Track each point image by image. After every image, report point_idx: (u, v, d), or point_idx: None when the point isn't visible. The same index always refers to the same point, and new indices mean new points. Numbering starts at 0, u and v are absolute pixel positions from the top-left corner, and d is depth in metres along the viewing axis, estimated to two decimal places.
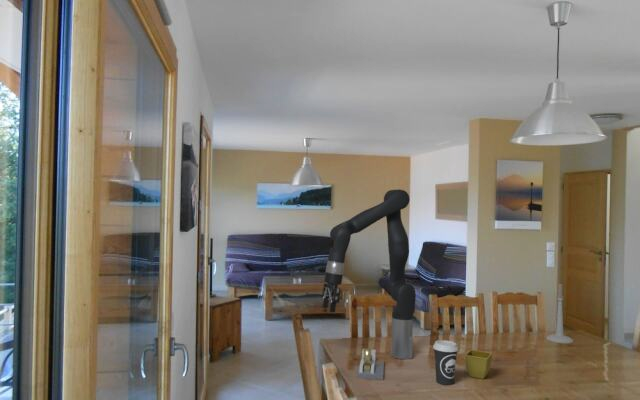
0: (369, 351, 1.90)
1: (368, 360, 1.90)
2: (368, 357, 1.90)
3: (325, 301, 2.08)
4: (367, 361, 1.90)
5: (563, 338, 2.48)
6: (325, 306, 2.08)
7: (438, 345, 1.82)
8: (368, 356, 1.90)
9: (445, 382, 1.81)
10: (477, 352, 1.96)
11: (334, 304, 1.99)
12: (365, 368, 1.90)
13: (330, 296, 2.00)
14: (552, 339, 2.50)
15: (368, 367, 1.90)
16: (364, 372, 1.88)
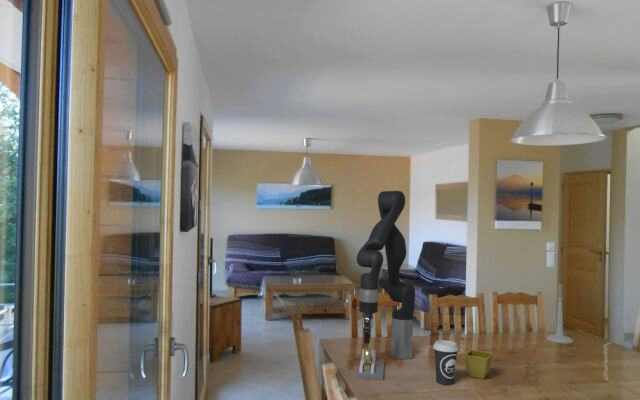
0: (369, 351, 1.90)
1: (368, 360, 1.90)
2: (368, 357, 1.90)
3: None
4: (367, 361, 1.90)
5: (563, 338, 2.48)
6: None
7: (438, 345, 1.82)
8: (368, 356, 1.90)
9: (445, 382, 1.81)
10: (477, 352, 1.96)
11: (367, 335, 1.86)
12: (365, 368, 1.90)
13: (363, 326, 1.88)
14: (552, 339, 2.50)
15: (368, 367, 1.90)
16: (364, 372, 1.88)
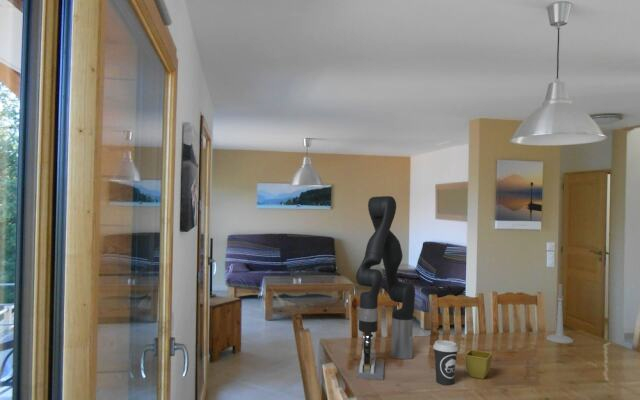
0: None
1: None
2: None
3: None
4: None
5: (563, 338, 2.48)
6: None
7: (438, 345, 1.82)
8: None
9: (445, 382, 1.81)
10: (477, 352, 1.96)
11: (367, 355, 1.89)
12: (365, 368, 1.90)
13: (363, 347, 1.89)
14: (552, 339, 2.50)
15: (368, 367, 1.90)
16: (364, 372, 1.88)
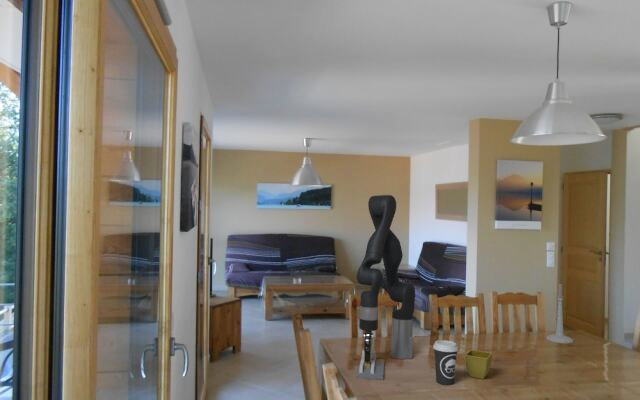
0: None
1: None
2: None
3: None
4: None
5: (563, 338, 2.48)
6: None
7: (438, 345, 1.82)
8: None
9: (445, 382, 1.81)
10: (477, 352, 1.96)
11: (367, 353, 1.91)
12: (365, 366, 1.93)
13: None
14: (552, 339, 2.50)
15: (368, 365, 1.92)
16: (364, 372, 1.88)
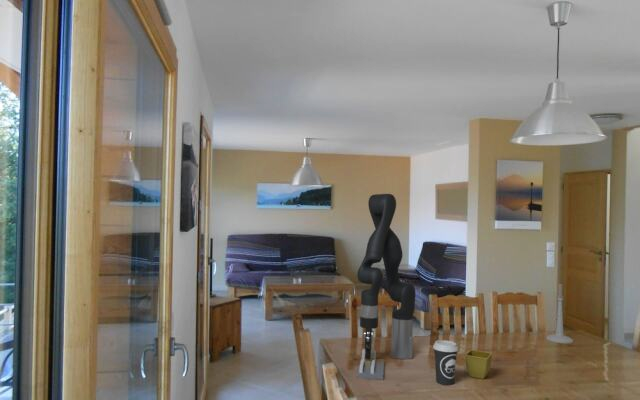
0: None
1: None
2: None
3: None
4: None
5: (563, 338, 2.48)
6: None
7: (438, 345, 1.82)
8: None
9: (445, 382, 1.81)
10: (477, 352, 1.96)
11: (368, 351, 1.95)
12: (366, 363, 1.96)
13: (364, 342, 1.96)
14: (552, 339, 2.50)
15: (369, 362, 1.96)
16: (364, 372, 1.88)
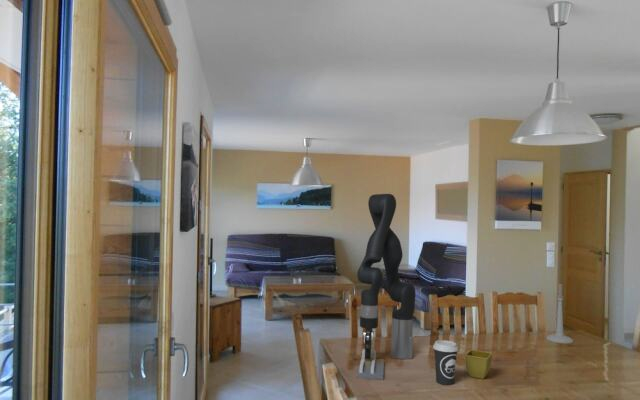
0: None
1: None
2: None
3: None
4: None
5: (563, 338, 2.48)
6: None
7: (438, 345, 1.82)
8: None
9: (445, 382, 1.81)
10: (477, 352, 1.96)
11: (368, 351, 1.94)
12: (366, 363, 1.96)
13: (364, 342, 1.95)
14: (552, 339, 2.50)
15: (369, 362, 1.96)
16: (364, 372, 1.88)
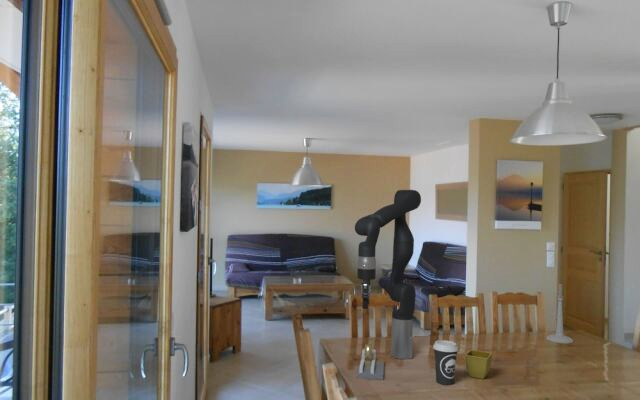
0: (370, 347, 1.97)
1: (369, 355, 1.96)
2: (369, 352, 1.96)
3: None
4: (368, 356, 1.96)
5: (563, 338, 2.48)
6: None
7: (438, 345, 1.82)
8: (369, 351, 1.96)
9: (445, 382, 1.81)
10: (477, 352, 1.96)
11: (365, 300, 1.92)
12: (366, 363, 1.96)
13: (361, 292, 1.94)
14: (552, 339, 2.50)
15: (369, 362, 1.96)
16: (364, 372, 1.88)
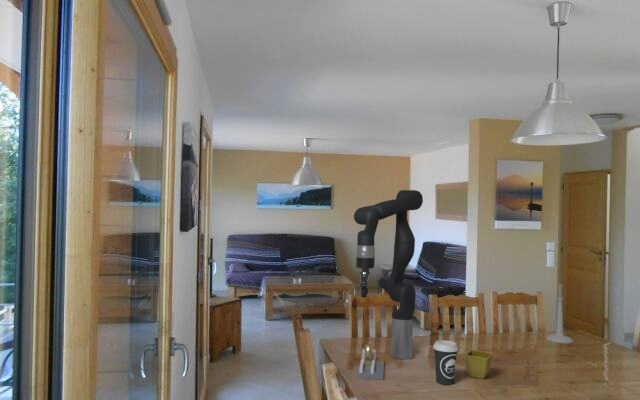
0: (370, 347, 1.97)
1: (369, 355, 1.96)
2: (369, 352, 1.96)
3: None
4: (368, 356, 1.96)
5: (563, 338, 2.48)
6: None
7: (438, 345, 1.82)
8: (369, 351, 1.96)
9: (445, 382, 1.81)
10: (477, 352, 1.96)
11: (364, 289, 1.92)
12: (366, 363, 1.96)
13: (360, 281, 1.94)
14: (552, 339, 2.50)
15: (369, 362, 1.96)
16: (364, 372, 1.88)
